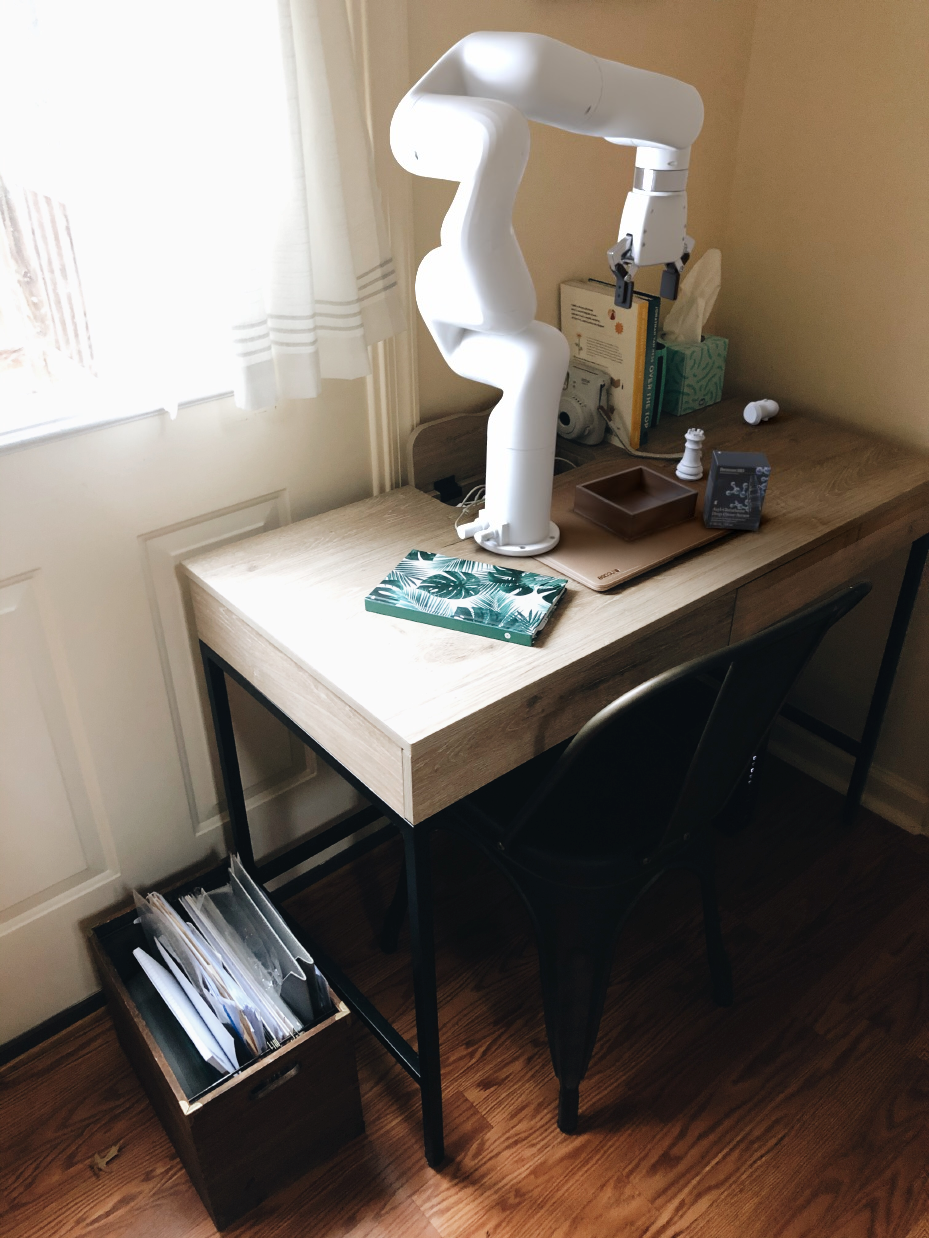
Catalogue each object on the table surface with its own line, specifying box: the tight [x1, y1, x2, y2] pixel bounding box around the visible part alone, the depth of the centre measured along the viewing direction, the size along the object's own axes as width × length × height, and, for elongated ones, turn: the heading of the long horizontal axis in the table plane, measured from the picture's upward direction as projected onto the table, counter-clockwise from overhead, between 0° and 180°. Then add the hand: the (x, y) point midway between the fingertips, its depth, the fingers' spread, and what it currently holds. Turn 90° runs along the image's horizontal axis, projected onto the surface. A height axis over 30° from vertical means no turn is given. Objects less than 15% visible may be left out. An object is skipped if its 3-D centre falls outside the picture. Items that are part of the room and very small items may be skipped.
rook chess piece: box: [675, 428, 706, 482], centre depth 159 cm, size 4×4×8 cm
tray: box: [573, 464, 699, 542], centre depth 147 cm, size 14×12×4 cm
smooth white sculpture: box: [743, 398, 780, 426], centre depth 183 cm, size 4×8×5 cm
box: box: [702, 449, 772, 532], centre depth 144 cm, size 8×6×11 cm
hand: (645, 302), depth 147 cm, fingers open, 9 cm apart
